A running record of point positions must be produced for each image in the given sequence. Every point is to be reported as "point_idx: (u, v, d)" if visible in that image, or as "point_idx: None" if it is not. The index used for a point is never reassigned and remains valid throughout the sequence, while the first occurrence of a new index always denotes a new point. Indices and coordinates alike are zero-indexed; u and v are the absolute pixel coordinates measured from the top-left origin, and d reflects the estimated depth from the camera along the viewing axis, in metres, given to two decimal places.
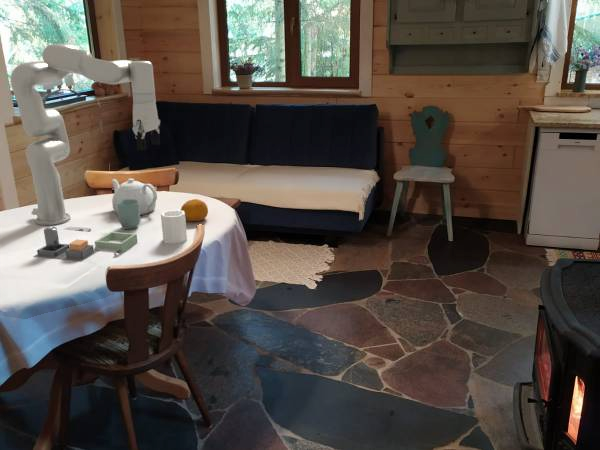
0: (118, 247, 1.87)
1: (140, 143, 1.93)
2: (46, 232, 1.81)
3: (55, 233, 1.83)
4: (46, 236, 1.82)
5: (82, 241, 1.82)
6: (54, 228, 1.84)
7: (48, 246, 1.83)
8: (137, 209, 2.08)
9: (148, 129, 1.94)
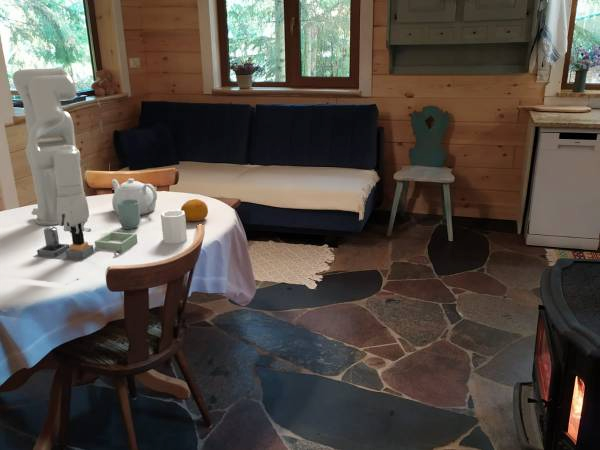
0: (118, 247, 1.87)
1: (75, 238, 1.80)
2: (46, 232, 1.81)
3: (55, 233, 1.83)
4: (46, 236, 1.82)
5: None
6: (54, 228, 1.84)
7: (48, 246, 1.83)
8: (137, 209, 2.08)
9: (75, 223, 1.76)
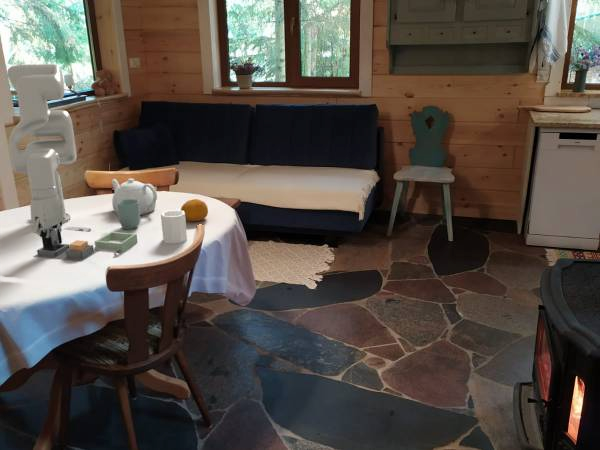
0: (118, 247, 1.87)
1: (45, 242, 1.81)
2: None
3: (55, 233, 1.83)
4: None
5: (82, 242, 1.82)
6: (54, 228, 1.84)
7: None
8: (137, 209, 2.08)
9: (48, 225, 1.79)
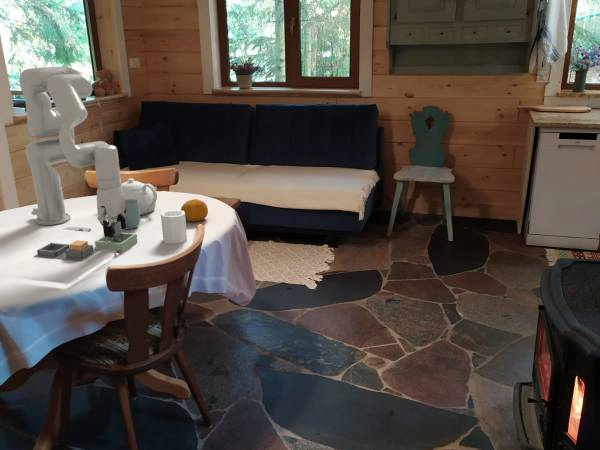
0: (118, 247, 1.87)
1: (106, 230, 1.86)
2: (111, 225, 1.89)
3: (119, 226, 1.90)
4: None
5: (82, 242, 1.82)
6: (118, 221, 1.91)
7: (112, 239, 1.90)
8: (137, 209, 2.08)
9: (113, 215, 1.86)
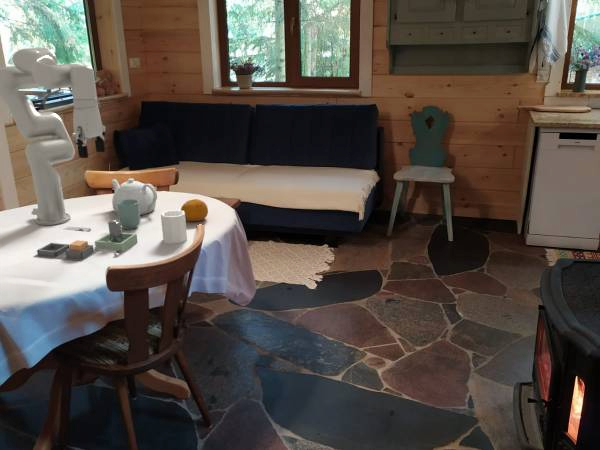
0: (118, 247, 1.87)
1: (81, 151, 1.86)
2: (111, 225, 1.89)
3: (119, 226, 1.90)
4: (111, 229, 1.89)
5: (82, 242, 1.82)
6: (118, 221, 1.91)
7: (112, 239, 1.90)
8: (137, 209, 2.08)
9: (90, 136, 1.87)
